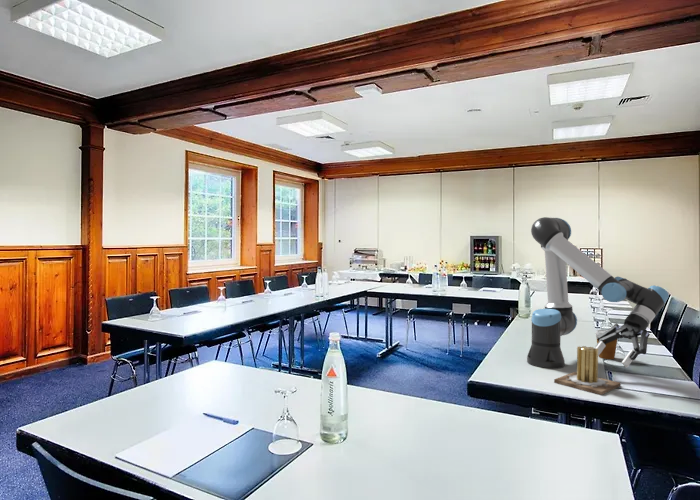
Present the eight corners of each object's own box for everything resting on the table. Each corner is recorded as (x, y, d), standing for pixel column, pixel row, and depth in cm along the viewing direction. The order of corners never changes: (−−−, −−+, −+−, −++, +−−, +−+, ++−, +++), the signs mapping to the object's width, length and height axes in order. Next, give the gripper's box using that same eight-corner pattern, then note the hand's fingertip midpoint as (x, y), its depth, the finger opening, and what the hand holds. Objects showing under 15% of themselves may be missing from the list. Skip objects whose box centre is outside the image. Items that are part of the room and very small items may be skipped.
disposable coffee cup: (610, 361, 198) (610, 334, 198) (590, 356, 206) (590, 330, 206) (623, 358, 202) (623, 332, 202) (602, 354, 211) (603, 329, 210)
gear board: (554, 382, 169) (554, 378, 169) (574, 374, 178) (574, 370, 178) (601, 395, 155) (601, 390, 155) (620, 385, 165) (620, 381, 165)
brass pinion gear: (573, 379, 168) (573, 348, 167) (581, 375, 172) (582, 345, 171) (592, 384, 162) (593, 351, 162) (600, 380, 166) (601, 348, 166)
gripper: (675, 332, 163) (643, 376, 159) (616, 320, 187) (587, 358, 183) (665, 318, 161) (632, 362, 157) (607, 308, 185) (577, 346, 181)
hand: (608, 360), depth 170 cm, fingers open, 13 cm apart
